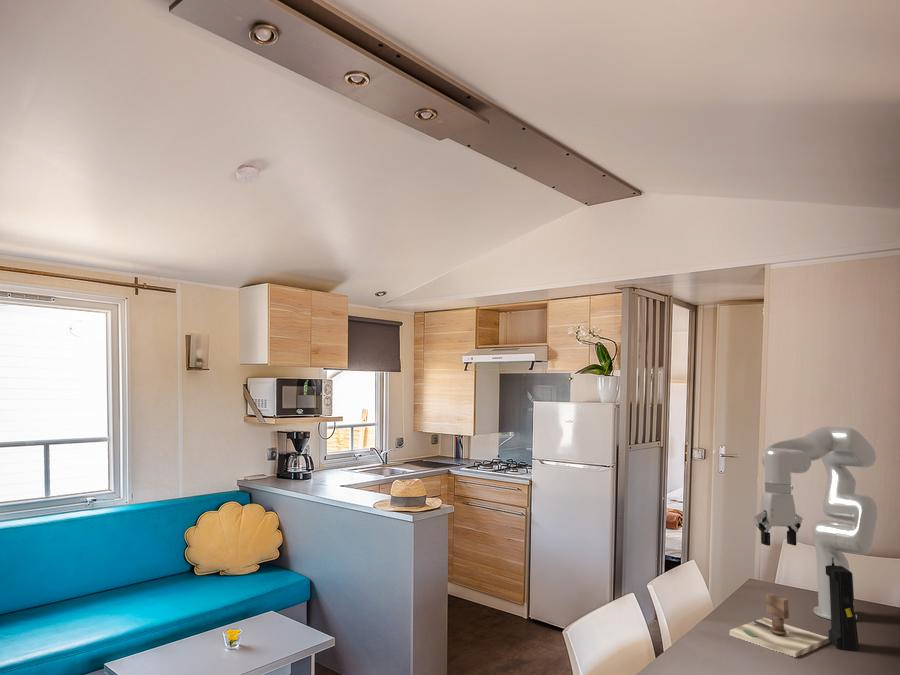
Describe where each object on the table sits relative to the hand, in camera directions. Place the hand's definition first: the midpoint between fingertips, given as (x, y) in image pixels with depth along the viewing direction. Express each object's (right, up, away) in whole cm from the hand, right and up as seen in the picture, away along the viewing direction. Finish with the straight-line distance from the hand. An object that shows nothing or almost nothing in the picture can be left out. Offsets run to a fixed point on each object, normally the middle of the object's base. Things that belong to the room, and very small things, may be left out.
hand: (778, 544), depth 193 cm
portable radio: (+15, -28, -9) cm, 33 cm away
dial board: (-2, -28, -4) cm, 28 cm away
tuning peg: (-3, -26, -1) cm, 26 cm away
